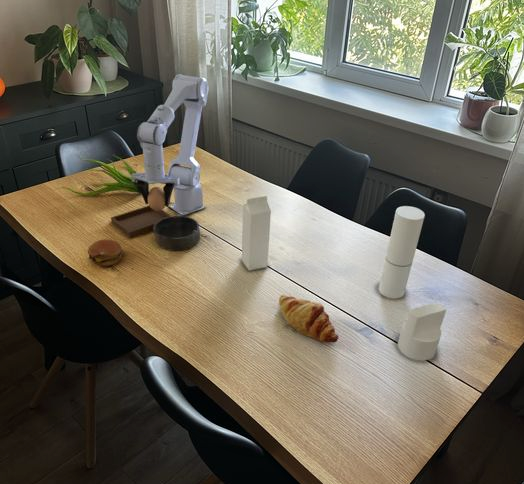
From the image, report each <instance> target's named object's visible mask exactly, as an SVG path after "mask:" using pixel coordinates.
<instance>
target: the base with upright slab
mask: <svg viewBox="0 0 524 484" xmlns="http://www.w3.org/2000/svg"><path fill="white" fill-rule="evenodd" d="M446 313H447V307H445V305H444V304H442V303H441V302H439V301H436V302H433V303H429V304H425V305H421V306H418V307H414V308H409V310H408V313H407V316H406V319H405V320H404V321H403V322H402V326H401V329H400V333H399V337H398V340H397V346H398V350H399V351H400V353H402V354H403V355H404V356H406V357H407V358H409V359H412V360H415V361H424V362H425V361H429V360H431V359H432V358H434V357H435V355H436V353H437V349H438V345H439V342H440V340H441V337H442V330H441V327H442V325H443V322H444V319H445V316H446Z"/></svg>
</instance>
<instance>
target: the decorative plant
mask: <svg viewBox="0 0 524 484" xmlns="http://www.w3.org/2000/svg"><path fill="white" fill-rule="evenodd" d="M77 157H78V158H79V159H81V160H82V161H85V162H92V163H94V164H99V165H100V166H102V168H104V169H94V168H87V170H90V171H94V172H101V173H102V172H103V173H104V174H106V175H108V176H109V177H111V178H112V179H113V180H114V181H116V182H102V183H100V184H96V183H94V182H92V184H93V185H95V186H99V187H101V186H104V187H102V188H99V189H97V190H91V191H88V192H80V191H76V190H74V189H72V188H70V187H64V186H62V187H57V188H53V191H55V190H59V189H66V190H69V191H71V192H72V193H74V194H77V195H81V196H98V195H102V194H106V193H110V192H116V191H127V192H129V193H137V194H140V195H142V194H141V192H140V191H139V190H138V188H137V187H136V184H137V181H135V182H132V179H131V175H132V174H133V173H137V171H136V170H134V169H133V168H132V167H131V166H130V165H129V163H127V162H126V161H125V160H124V159H123V158H121V157H120V156H119V157H118V156H116V155H114V157H115V158H117V159H118V160H120V161H121V162H123V165H124V166H125V167H124V166H121V165H119V167H120V168H123V169H124V170H126V171H127V172H128V174H129V175H127V174H124V173H123V172H121V171H120V170H119V169H117V167H116V165H115V163H114V162H113V161H112V160H110V159H109V158H107V160H108V161H110V162H111V163H112V164H113V165H110V164H108V163H105V162H101V161H100V160H95V159H90V158H87V157H85V159H83V158H82V157H80V156H78V155H77ZM81 169H84V170H85V168H84V167H82V168H81ZM105 169H106V170H105Z"/></svg>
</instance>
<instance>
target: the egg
mask: <svg viewBox="0 0 524 484" xmlns="http://www.w3.org/2000/svg"><path fill="white" fill-rule="evenodd" d="M147 205H148V206H150V207H151V208H152V209H153V210H155V211H161V210H163V211H164V209H165V208H166V207H167V206H166V205H165V194H164V190H163V188H162V187H159V186H154V187H151V189H149V194H148V204H147Z"/></svg>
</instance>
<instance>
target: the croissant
mask: <svg viewBox="0 0 524 484" xmlns="http://www.w3.org/2000/svg"><path fill="white" fill-rule="evenodd" d="M278 303H279V305H280V311H281V314H282V316H283V318H284V319H285V322H286V323H287V326H288V327H291V328H293V329H294V330H295V331H296V332H297V333H299V334H301V335H303V336H306V337H310V338H312V339H315V340H318V341H319V342H323V343H336V342H338V340H339V335H338V334H337V333H336V330H335V326H334V325H333V323H332V322H331V321H330V315H329V314H328V313H327V312H326V311H325V306H324V305H323V304H321V302H314V301H310V300H307V299H303V298H299V299H298V298H297V297H294V296H287V295H284V294H282V295H280V297H279V299H278Z"/></svg>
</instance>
